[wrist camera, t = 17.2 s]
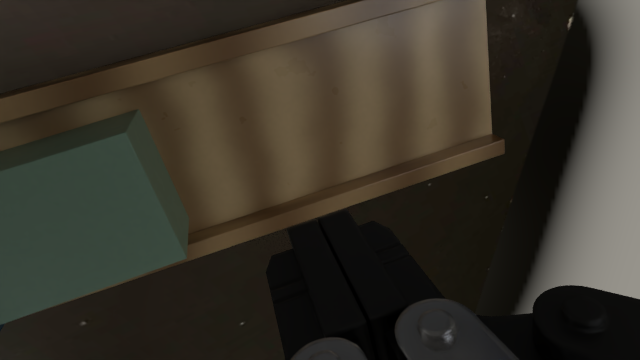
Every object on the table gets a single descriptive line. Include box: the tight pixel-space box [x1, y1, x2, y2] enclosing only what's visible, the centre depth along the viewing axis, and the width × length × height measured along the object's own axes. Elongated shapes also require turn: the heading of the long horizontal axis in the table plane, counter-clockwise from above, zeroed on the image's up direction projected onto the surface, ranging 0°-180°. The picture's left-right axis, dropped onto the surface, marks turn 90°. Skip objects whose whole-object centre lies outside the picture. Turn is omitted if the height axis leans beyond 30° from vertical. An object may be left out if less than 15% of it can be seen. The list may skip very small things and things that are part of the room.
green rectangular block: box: [0, 109, 189, 325], centre depth 24 cm, size 11×8×5 cm
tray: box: [0, 0, 505, 320], centre depth 28 cm, size 36×13×3 cm, turn 103°
